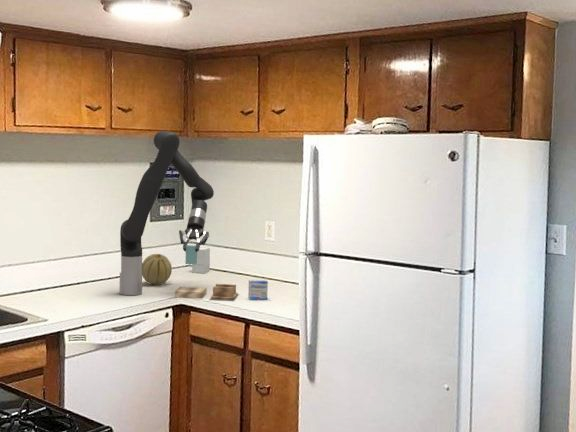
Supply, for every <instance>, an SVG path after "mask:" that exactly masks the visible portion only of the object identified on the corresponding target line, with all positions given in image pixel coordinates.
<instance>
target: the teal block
mask: <svg viewBox="0 0 576 432" xmlns="http://www.w3.org/2000/svg"><path fill="white" fill-rule="evenodd" d="M195 248H196V244H195V245H193V244H192V245H191V244H187V246H186V252H185V265H192V264H197V252H196V251H195Z"/></svg>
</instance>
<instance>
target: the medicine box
mask: <svg viewBox="0 0 576 432" xmlns="http://www.w3.org/2000/svg"><path fill="white" fill-rule="evenodd" d="M268 284H269V282H268V280H267V279H248V300H249V301H267V300H268V290H269V289H268Z"/></svg>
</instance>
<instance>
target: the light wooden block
mask: <svg viewBox="0 0 576 432" xmlns="http://www.w3.org/2000/svg"><path fill="white" fill-rule="evenodd" d="M207 290H208V288H207V287H191V286H189V287H188V286H179V288H177V289H176V290H175V291H174V294H175V295H174V298H175V299H177V298H179V299H180V298H183V299H203V298H205V296H206V295H207V293H208V292H207Z"/></svg>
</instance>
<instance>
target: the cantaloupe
mask: <svg viewBox="0 0 576 432" xmlns="http://www.w3.org/2000/svg"><path fill="white" fill-rule="evenodd" d="M172 269H173V268H172V263H171V261H170V260H169V258H168V257H167V256H166V255H164V254H161V253H154V254H150V255H148V256H146V257H145V259H144V260H142V279H144V280H145V282H146V283H148V284H151V285H153V286H154V285H161V284H165V283H166V282H167V281H168V280H169V279H170V277H171V275H172V271H173V270H172Z"/></svg>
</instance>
